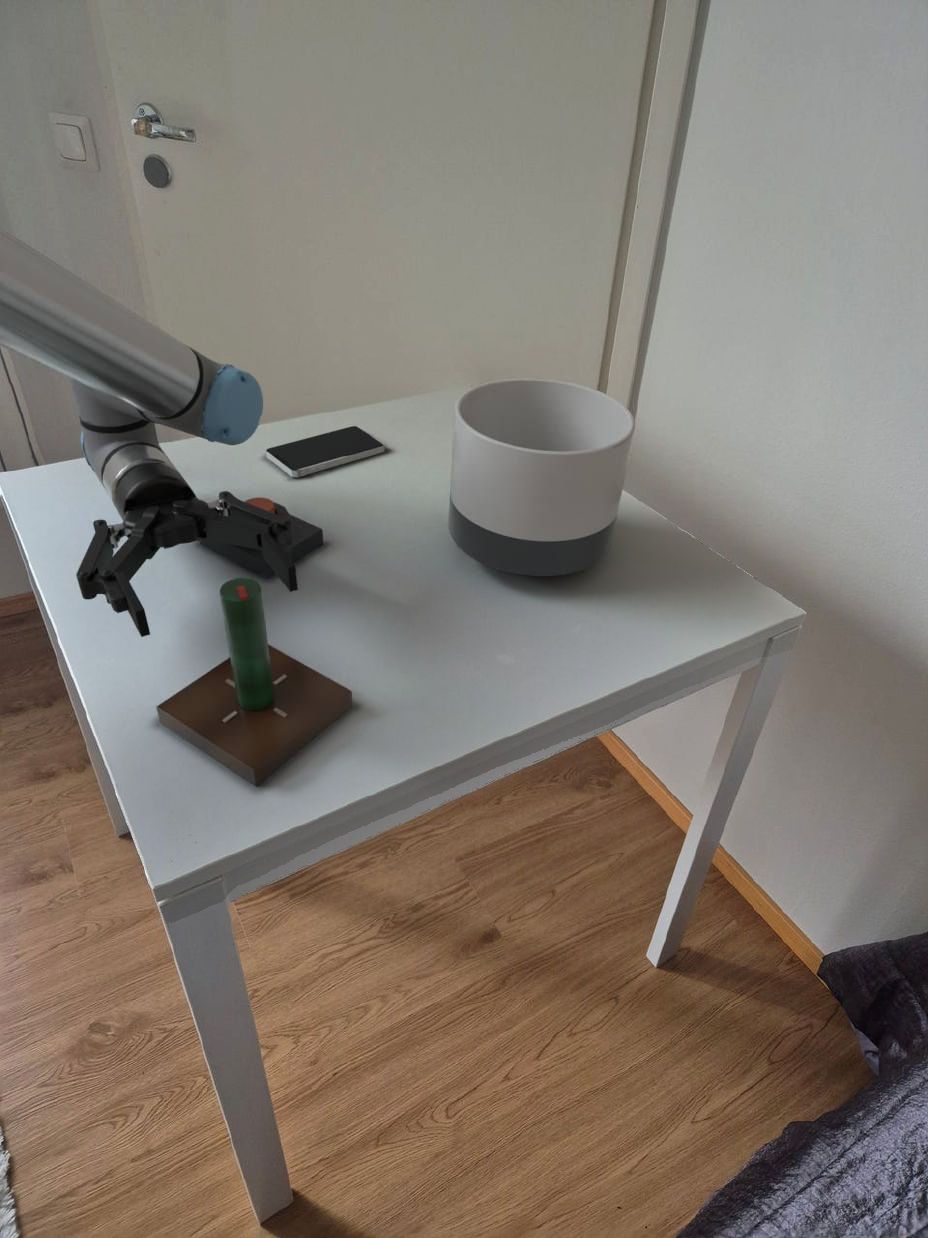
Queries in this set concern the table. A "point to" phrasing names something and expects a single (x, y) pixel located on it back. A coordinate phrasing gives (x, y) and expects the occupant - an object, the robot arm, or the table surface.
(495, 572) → the table surface
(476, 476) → the planter
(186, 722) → the dial base
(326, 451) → the smartphone
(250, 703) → the dial knob
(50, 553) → the table surface
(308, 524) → the button box
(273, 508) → the button
